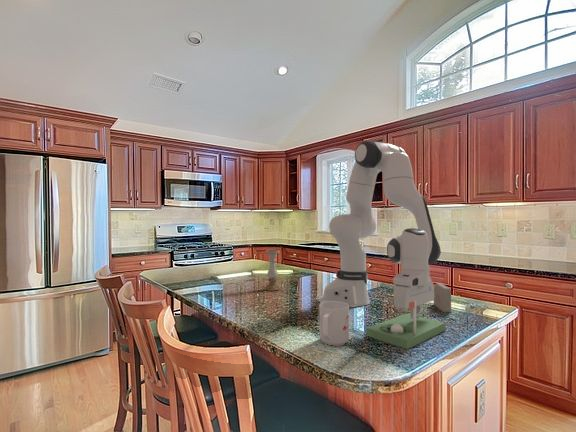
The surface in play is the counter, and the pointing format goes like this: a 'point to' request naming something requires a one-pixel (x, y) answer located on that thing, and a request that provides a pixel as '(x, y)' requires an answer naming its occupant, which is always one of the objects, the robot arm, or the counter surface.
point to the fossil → (442, 297)
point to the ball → (397, 328)
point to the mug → (334, 322)
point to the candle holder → (272, 272)
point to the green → (406, 329)
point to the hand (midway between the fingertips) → (415, 318)
